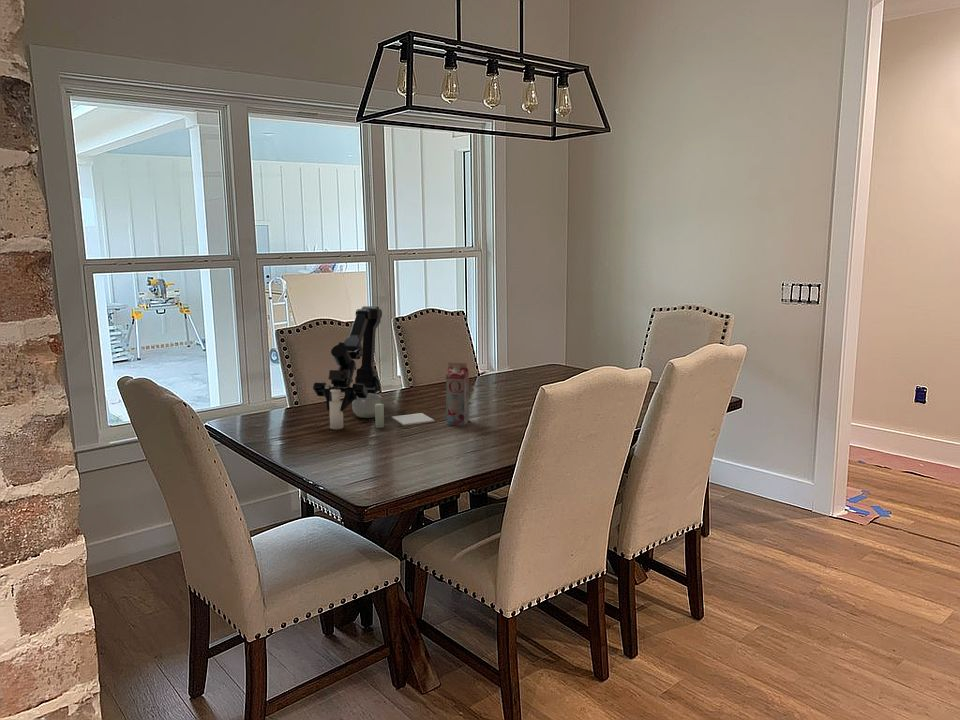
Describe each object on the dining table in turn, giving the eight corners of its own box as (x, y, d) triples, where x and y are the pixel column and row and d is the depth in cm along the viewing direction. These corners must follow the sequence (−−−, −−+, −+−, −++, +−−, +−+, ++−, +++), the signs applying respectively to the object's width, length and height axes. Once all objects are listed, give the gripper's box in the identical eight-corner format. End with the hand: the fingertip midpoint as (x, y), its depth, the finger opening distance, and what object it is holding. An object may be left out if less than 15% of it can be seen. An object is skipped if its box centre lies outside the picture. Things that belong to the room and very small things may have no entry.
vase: (328, 426, 269) (327, 389, 267) (341, 425, 271) (339, 388, 269) (332, 429, 265) (330, 391, 263) (345, 428, 267) (343, 390, 265)
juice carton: (464, 425, 271) (464, 364, 267) (446, 424, 272) (446, 364, 269) (468, 420, 278) (468, 361, 274) (451, 419, 279) (450, 360, 275)
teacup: (358, 412, 291) (358, 391, 290) (385, 413, 289) (385, 392, 288) (345, 421, 278) (344, 399, 276) (373, 422, 275) (372, 401, 274)
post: (374, 426, 270) (373, 404, 269) (382, 425, 272) (381, 403, 270) (377, 428, 268) (376, 406, 266) (385, 427, 269) (384, 405, 268)
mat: (391, 418, 282) (391, 416, 281) (421, 414, 287) (421, 412, 287) (403, 425, 271) (403, 424, 271) (434, 421, 276) (434, 420, 276)
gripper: (313, 359, 270) (302, 397, 261) (363, 361, 266) (353, 399, 257) (323, 377, 279) (312, 413, 270) (371, 379, 275) (362, 416, 266)
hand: (334, 410), depth 266 cm, fingers closed on vase, 5 cm apart
